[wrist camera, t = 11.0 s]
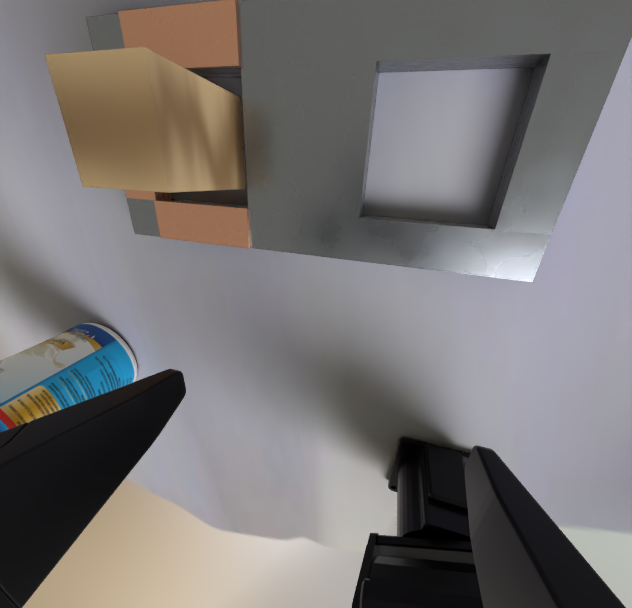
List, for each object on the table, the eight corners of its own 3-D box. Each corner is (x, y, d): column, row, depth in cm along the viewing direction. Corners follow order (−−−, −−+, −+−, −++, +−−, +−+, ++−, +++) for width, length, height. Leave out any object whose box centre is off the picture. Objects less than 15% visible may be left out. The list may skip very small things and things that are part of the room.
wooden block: (246, 188, 18) (168, 192, 12) (182, 185, 20) (82, 186, 13) (240, 97, 16) (144, 47, 10) (170, 99, 17) (44, 54, 11)
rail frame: (520, 273, 16) (533, 283, 14) (150, 230, 22) (132, 234, 20) (632, -16, 11) (668, -48, 9) (110, 30, 17) (82, 15, 15)
